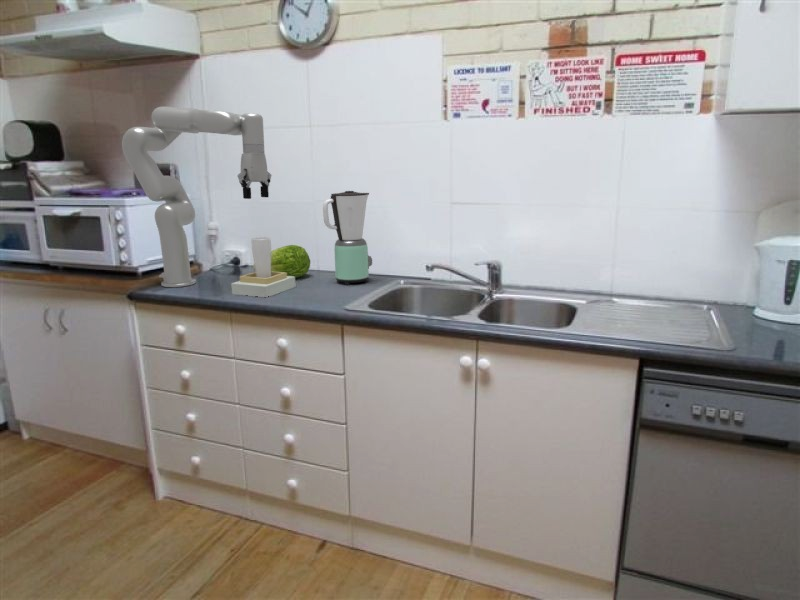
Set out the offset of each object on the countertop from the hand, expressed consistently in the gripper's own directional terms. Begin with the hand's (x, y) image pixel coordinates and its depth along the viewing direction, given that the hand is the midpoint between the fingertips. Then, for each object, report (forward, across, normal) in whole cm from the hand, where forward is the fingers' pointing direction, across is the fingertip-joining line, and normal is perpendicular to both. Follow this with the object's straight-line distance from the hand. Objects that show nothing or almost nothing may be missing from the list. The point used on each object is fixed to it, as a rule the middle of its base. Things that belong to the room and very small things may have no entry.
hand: (256, 197), depth 198 cm
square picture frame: (+33, +6, +7) cm, 34 cm away
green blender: (+33, -19, +29) cm, 47 cm away
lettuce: (+34, -17, -3) cm, 38 cm away
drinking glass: (+29, +5, +6) cm, 30 cm away
